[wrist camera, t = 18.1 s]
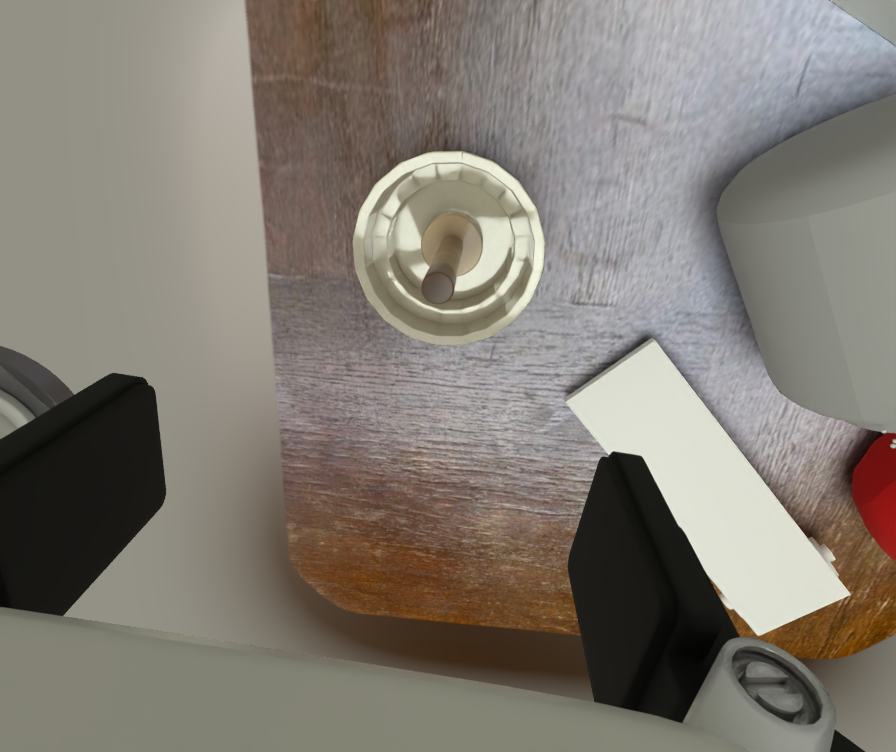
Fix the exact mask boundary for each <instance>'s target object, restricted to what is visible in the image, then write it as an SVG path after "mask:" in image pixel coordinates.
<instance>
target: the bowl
mask: <svg viewBox="0 0 896 752" xmlns="http://www.w3.org/2000/svg"><path fill="white" fill-rule="evenodd" d="M452 211H455V212H461V213H464V214H466V215H468V216H469V217H471V218H472V219H473V220H474V221H475V222H476V223H477V225H478V226H479V228H480V230H481V233H482V238H483V249H482V255H481V257H480V260H479V262H478V263H477V265H476V266H475V267H474V268H473V269H472V270H471V271H470V272H468V273H467V274H464V275H462V276H458V277H457V279H456V284H455V289H454V293H453V296H452V297H451V299H450V300H449V301H447V302H446V303H443V304H433V303H431V302H429V301H428V300H426V299H425V297H424V296H423V294H422V290H421V285H422V282H423V279H424V277H425V275H426V273H427V271H428V269H429V266H428V265H427V263H426V262H425V260H424V258H423V255H422V251H421V240H422V236H423V233H424V231H425V229H426V228H427V226H428V225H429V223H430V222H431V221H432V220H433V219H434V218H435V217H437V216H438V215H440V214H442V213H445V212H452ZM544 252H545V237H544V233H543V229H542V225H541V221H540V217H539V214H538V210H537V208H536V206H535V205H534V203H533V201H532V200H531V198H530V197H529V195H528V194H527V192H526V191H525V189H524V188H523V186H522V185H521V183H520V182H519V181H518V180H517V179H516V178H515V177H513V176H512V175H511V174H510V173H508V172H507V171H506V170H505V169H503V168H502V167H501V166H499V165H498V164H497V163H496V162H494V161H493V160H491V159H488V158H485V157H482V156H479V155H476V154H473V153H470V152H467V151H431V152H427V153H424V154H422V155H419V156H416V157H414V158H411V159H408V160H406V161H403V162H401V163H399V164H398V165H397V166H395V167H394V168H393V169H392V170H391V171H389V172H388V173H387V174H386V175H385V176H384V177H382V178H381V179H380V180H379V181H378V182H376V184H375V185H374V186H373V188H372V190H371V191H370V193H369V195H368V196H367V198H366V200H365V202H364V203H363V205H362V207H361V208H360V211H359V213H358V218H357V222H356V227H355V231H354V236H353V253H354V264H355V271H356V274H357V276H358V279H359V281H360V284H361V286H362V289H363V291H364V293H365V296H366V298H367V300H368V301H369V302H370V303H371V304H372V306H373V307H374V308H375V309H376V311H377V312H378V313H379V314H380V316H381V317H382V318H383V319H384V320H385V321H386V322H387V323H389V324H390V325H392V326H393V327H395V328H396V329H398V330H399V331H401V332H402V333H404V334H405V335H407V336H409V337H411V338H414V339H417V340H421V341H424V342H427V343H430V344H433V345H466V344H469V343H472V342H476V341H479V340H483V339H486V338H489V337H491V336H493V335H494V334H496V333H497V332H499V331H500V330H502V329H503V328H505V327H506V326H508V325H509V324H511V323H512V322H513V321H515V320H516V318H517V317H518V316H519V315H520V313H521V312H522V311H523V310H524V308H525V307H526V306H527V305H528V303H529V302H530V301H531V300H532V298H533V296H534V293H535V291H536V288H537V285H538V283H539V280H540V278H541V275H542V273H543V269H544Z"/></svg>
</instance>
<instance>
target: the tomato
mask: <svg viewBox="0 0 896 752" xmlns="http://www.w3.org/2000/svg"><path fill="white" fill-rule="evenodd" d="M893 439H896V433H886V434H884V435H882V436H881V437H879V438H878V439H876V440H875V441H874V442H873V444H872V445H871V446H870V448H869V449H868V451H867V452H866V453H865V455H864V456H863V458H862V459H861V460H860V462H859V463H858V464H857V466H856V467H855V469H854V471H853V478H852V497H853V500H854V502H855V504H856V507H857V509H858V511H859V513H860V515H861V517H862V519H863V521H864V524H865V526H866V528H867V529H868V531H869V532H870V534H871V535H872V536H873V538H874V539H875V540H876V542H877V543H878V544H879V546H880V547H881V548H882V549H883V550H884V551H885V552H886V553H887V554H888V555H889V556H890V557H891V558H892V559H894V560H895V561H896V448H891V447H890V445H891V444H896V443H893V442H892V440H893Z"/></svg>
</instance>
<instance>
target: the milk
mask: <svg viewBox="0 0 896 752" xmlns="http://www.w3.org/2000/svg"><path fill="white" fill-rule="evenodd" d="M830 1H832V2H833V3H835V4H836V5H838V6H839V7H840V8H842V9H843V10H845V11H846V12H848V13H849V14H851V15H852V16H853V17H855V18H856V19H858V20H859V21H861V22H862V23H864V24H865V25H866V26H868V27H869V28H871V29H872V30H874V31H875V32H876V33H878V34H879V35H881V36H882V37H884V38H885V39H887V40H888V41H889V42H891V43H892V44H894V45H895V46H896V0H830Z"/></svg>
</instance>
